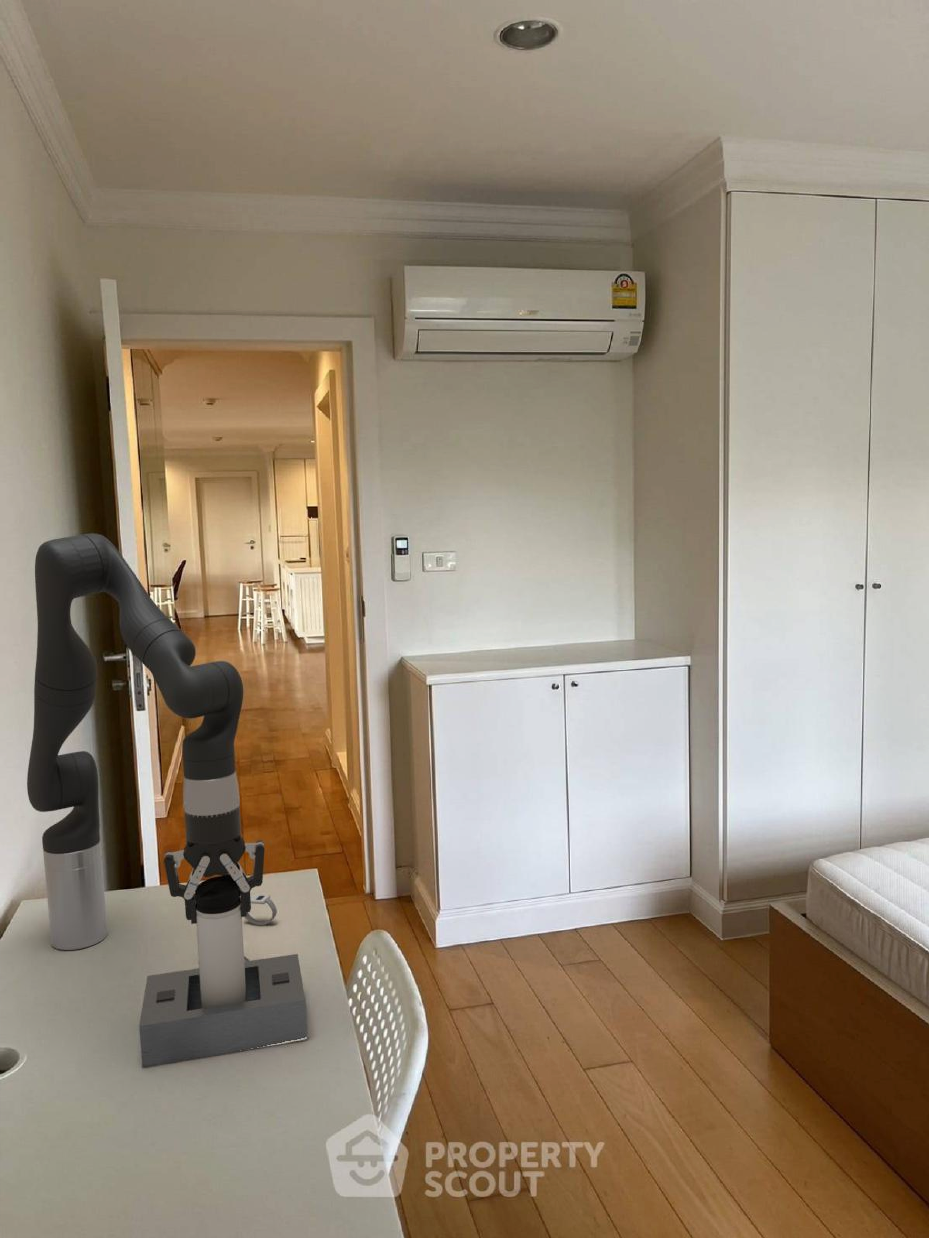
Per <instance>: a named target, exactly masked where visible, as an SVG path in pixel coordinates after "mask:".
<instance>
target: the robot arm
mask: <svg viewBox="0 0 929 1238" xmlns="http://www.w3.org/2000/svg"><path fill="white" fill-rule="evenodd" d="M34 581H35V597H36V598H35V600H36V614H37V616H36V618H37V619H36V620H37V635H36V637H37V639H36V656H35V657H36V659H35V669H34V689H33V697H34V699H33V701H34V702H33V703H34V705H33V707H34V709H33V710H34V711H33V731H32V739H31V740H32V741H31V746H30V754H29V758H28V759H29V760H28V766H27V775H26V776H27V777H26V788H27V789H26V790H27V796H28V800H29V803H30V805H31V807H32V808H33V809H34V811H37V812H41V813H48V812H49V813H50V812H54V811H55V812H56V811H59V810H60V811H61V810H65V809H70V808H72V810H71V811H70V812H69V813H68V814H67V815H66V816H64V817H63V818H62V819H61V820H59V821H58V822H56V823H55V824H53V825H51V826H49V827H48V828H47V829H45V831H44V832H43V834H42V837H41V842H42V843H41V845H42V852H43V865H44V874H45V875H44V876H45V885H46V886H45V887H46V897H47V908H48V920H49V933H50V942H51V946H52V947H53V948H54V949H57V950H62V951H72V950H73V951H75V950H79V949H84V948H89V947H91V946H94V945H95V944H98V943H100V942H101V941H103V940H104V939H106V937H107V936H108V933H109V932H108V919H107V907H106V906H107V905H106V894H105V882H104V870H103V857H102V848H101V847H102V846H101V835H100V834H101V833H100V827H101V823H100V821H101V820H100V806H99V805H100V804H99V802H100V801H99V795H100V794H99V772H98V767H97V764H96V761H95V760H96V759H95V758H94V756H93V755H92V754H91V753H90V752H88V751H86V750H85V751H84V750H81V751H80V750H79V751H74V752H69V753H62V754H59V753H60V750H61V748H62V746H63V745H64V744H65V742H66V740H67V739H68V738H69V736H70V735H71V734H72V733H73V732H74V731H75V729H76V728H77V727H78V726H79V724H80V723H81V722H82V721H83V720H84V718H85V717H86V715H88V713H89V712H90V710H91V708H92V706H93V704H94V703H95V700H96V696H97V695H96V693H97V683H98V682H97V681H98V662H97V660H96V658H95V656H94V654H93V652H92V650H91V648H89V646H88V645H87V643H86V642H85V641H84V640H83V639H82V637H81V636H80V635H79V634H78V632H77V631H76V629H75V628H74V626H73V623H72V617H71V609H72V608H71V606H72V603H73V601H74V599H76V598H77V599H78V598H82V597H86V596H91V595H97V594H100V593H102V592H104V593H107V594H108V595H110V596H111V597H112V598H114V600H116V602H117V603H118V606H119V630H120V634H121V638H122V639H123V641H124V644H125V645H126V647H127V649H128V650H129V651H130V652H131V653H132V654H133V655H134V656H135V657H136V658H137V659H138V661H139V662H141V663H142V664H143V665H144V667H145V668H146V669H147V670H149V671H150V674H151V675H152V678H153V679H154V682H155V683H156V685H157V687H158V689H159V691H160V694H161V696H162V699H163V700H164V703H165V705H166V706H167V708H168V709H169V711H170V710H171V712H172V713H174V715H177V716H179V717H180V718H183V719H197V718H200V717H203V719H202V722H201V723H200V725H199V727H198V728H196V729H194V730H193V731H191V732H190V733H188V734H187V735H186V736H185V737H184V738H183V741H182V744H181V747H182V749H181V752H182V755H181V756H182V768H183V769H182V771H183V787H182V788H183V789H182V797H183V801H182V807H183V810H184V812H183V813H184V814H183V815H184V824H185V825H184V826H185V841H186V842H185V843H186V844H185V846H184V848H183V849H181V850H177V851H173V850H166V852H165V853H164V858H163V865H164V868H165V869H164V870H165V874H166V880H167V884H168V890H169V893H170V896H171V897H173V898H176V897H179V898H183V900H184V906H185V907H184V909H185V918H186V920H187V921H190V924H191V925H194V924H196V923H197V922H196V901H195V890H196V888H197V886H198V885H199V884H200V883H201V882H202V878H203V877H204V878H213V877H215V876H222V875H228V874H230V875H231V876H232V878H233V879H234V881H236V883H237V884H238V886H239V887H240V900H241V916H242V918H245V917H246V912H248V913H250V912H251V909H252V903H251V899H250V897H251V891H252V889H253V888H256V887H260V886H262V884H263V882H264V880H263V879H264V864H265V863H264V862H265V843H264V840H262V839H258V840H257V841H255V842H245V840H244V838H243V836H242V825H241V809H240V808H241V807H240V806H241V805H240V798H241V797H240V792H239V782H238V777H237V771H236V753H235V740H236V735H237V731H238V727H239V721H240V716H241V712H242V708H243V707H242V705H243V701H244V685H243V681H242V677H241V675H240V673H239V672H238V669H237V668H236V667H235V666H234V665H233V664H232V663H230V662H228V661H225V660H224V661H223V660H217V661H216V660H215V661H210V662H207V663H201V664H197V665H192V664H193V663H194V660H195V658H196V646H195V644H194V643H193V641H192V640H191V639H190V638H189V637H188V635H186V634H185V633H184V631H182V629H181V628H179V626H177V624H175V623H174V622H173V621H172V620H171V619H170V618H169V617H168V616H167V615H166V614H165V613H164V612H163V611H162V610H161V609H160V607H159V606H158V605H157V604H156V602H155V601H154V600H153V599H152V597H151V596H150V595H149V593H148V592H147V590H146V588H145V587H144V586H143V584H142V582H141V581H140V580H139V578H138V576H137V575H136V574H135V572H134V570H132V568H131V567H130V566H129V564H128V562H127V561H126V559H125V558H124V557H123V555H122V554H121V553H120V551H119V549H118V548H117V547H116V546H115V545H114V544H113V543H112V542H111V541H110V540H109V539H108V538H107V537H105V536H104V535H103V534H99V533H86V534H85V533H83V534H77V535H72V536H66V537H65V536H64V537H61V538H60V537H59V538H55V539H50V540H47V541H44V542H42V544H40V546H39V547H38V548H37V552H36V555H35V561H34ZM245 852H247V853H248V854H249V858H250V859H252V860H253V874H251V875H250V876H247V874H246V873H245V870H244V869H243V868H242V866H241V863H239V861H240V860H241V858H243V855H244V854H245ZM182 860H185V861H186V862H187V863H188V864H189V865H190V866H191V867H192V870H191V872H190V875H189V878H188V880H187V883H186V884H181V883H180V880H179V878H180V877H179V874H178V868H179V867H181V862H182Z"/></svg>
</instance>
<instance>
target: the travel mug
mask: <svg viewBox="0 0 929 1238" xmlns="http://www.w3.org/2000/svg"><path fill="white" fill-rule="evenodd" d="M194 893H195V901H196V922H197V923H195V924H196V937H197V938H196V939H197V941H196V942H197V954H198V956H197V957H198V968H199V973H200V990H201V1006H202V1009H203V1008H209V1007H215V1006H222V1005H228V1004H234V1003H241V1002H246V985H245V966H244V956H245V954H244V953H245V952H244V933H243V932H244V931H243V930H244V929H243V917H242V916H241V899H240V887H239V886H238V884H237V883H236V881H234V879H233V878H232V876H231V875H230V873H228V875H216V876H212V877H209V878H208V879H205V880H203V881H200V883H199V885H198V886H197V888H196V890H195V892H194Z"/></svg>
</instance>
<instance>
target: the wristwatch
mask: <svg viewBox="0 0 929 1238" xmlns="http://www.w3.org/2000/svg"><path fill="white" fill-rule="evenodd" d="M250 899H251V905H252V904H255V905H266V904H267V905H268V906H269V907H270V909H271V913H272V916H271V917H270V919H267V920H258V919H256V918H254V917H252V916H251V915H250V912H246V917H244V919H246V920H247V921H248V922H249V923H251V924H253V925H256V926H265V925H268V924H269V923H271V922H272V921H273V920H274V918H276V917H277V913H278V912H277V906H276V904H275V903H274V902H273V900H272V899H271V895H267V894H255V893H253V894H252V895H250Z"/></svg>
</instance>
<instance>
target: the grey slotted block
mask: <svg viewBox="0 0 929 1238" xmlns="http://www.w3.org/2000/svg"><path fill="white" fill-rule="evenodd" d="M244 966H245V985H246V1002H241V1003H234V1004H228V1005H222V1006H215V1007H209V1008H203V1009H202V1006H201V990H200V973H199V967H198V968H193V969H191V968H190V969H186V970H179V971H171V972H170V971H169V972H166V973H158V974H152V975H147V977H146V981H145V989H144V995H143V1001H142V1006H141V1007H142V1008H141V1014H140V1019H139V1024H138V1025H139V1026H138V1029H139V1031H138V1032H139V1041H140V1043H139V1044H140V1055H141V1068H142V1069H144V1068H149V1067H156V1066H162V1065H167V1064H174V1063H178V1062H186V1061H191V1060H197V1059H204V1058H209V1057H215V1056H220V1055H227V1054H233V1052H234V1053H238V1052H237V1051H240V1050H246V1051H249V1050H248V1049H251V1048H257V1047H263V1046H267V1045H271V1044H277V1043H282V1042H285V1041H291V1040H297V1039H301V1038H305V1037H307V1038H308V1022H307V1020H308V1019H307V1005H306V995H305V991H304V990H305V989H304V983H303V978H302V973H301V965H300V959H299V954H298V953H295V954H289V955H281V956H274V957H267V958H260V959H253V960H249V961H245V962H244ZM240 1052H241V1051H240Z"/></svg>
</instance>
